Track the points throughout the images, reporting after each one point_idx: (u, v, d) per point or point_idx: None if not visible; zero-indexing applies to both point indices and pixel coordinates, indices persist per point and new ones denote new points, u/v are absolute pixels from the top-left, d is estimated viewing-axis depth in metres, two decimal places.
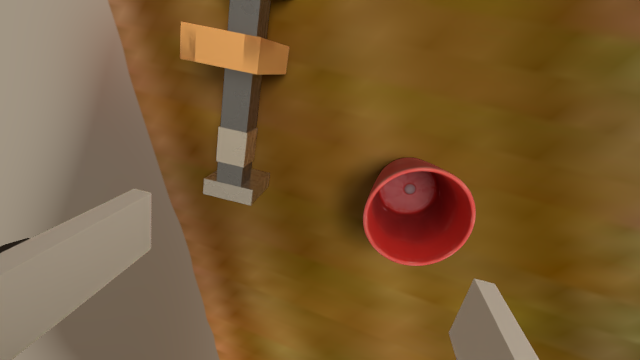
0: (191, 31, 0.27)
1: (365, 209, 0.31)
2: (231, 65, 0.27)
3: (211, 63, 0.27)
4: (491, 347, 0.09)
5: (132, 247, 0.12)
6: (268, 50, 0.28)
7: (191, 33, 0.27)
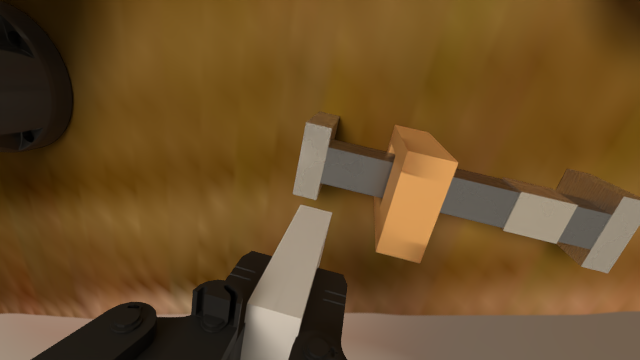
0: (389, 241, 0.20)
1: None
2: (439, 197, 0.19)
3: (432, 224, 0.20)
4: None
5: None
6: (417, 145, 0.20)
7: (391, 242, 0.20)
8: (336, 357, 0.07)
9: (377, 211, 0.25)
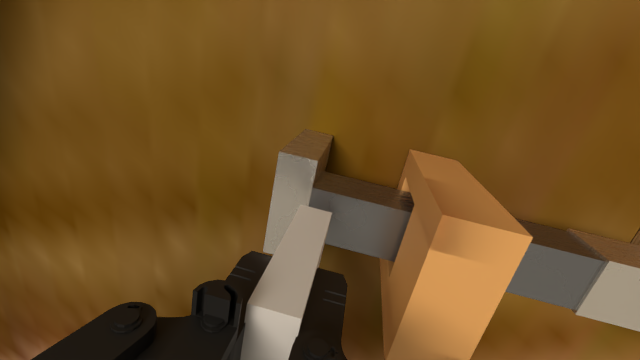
0: (406, 352, 0.13)
1: None
2: (494, 291, 0.11)
3: (480, 331, 0.12)
4: None
5: None
6: (452, 196, 0.12)
7: (409, 352, 0.13)
8: (336, 357, 0.07)
9: (385, 279, 0.17)
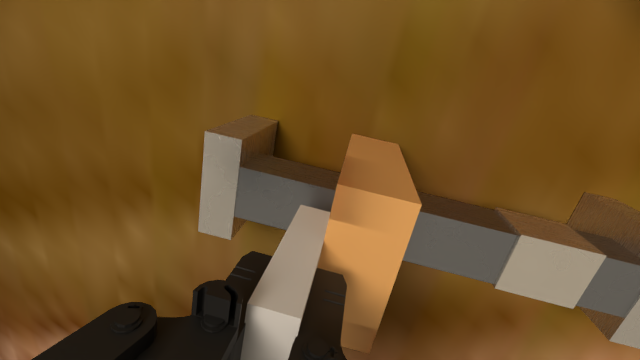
0: None
1: None
2: (393, 259, 0.12)
3: (384, 299, 0.12)
4: None
5: None
6: (363, 170, 0.13)
7: None
8: (336, 357, 0.07)
9: None
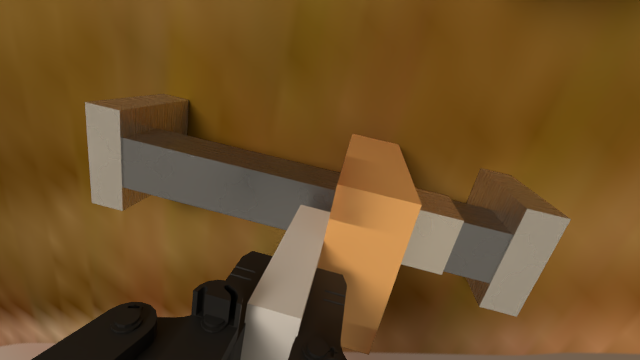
0: None
1: None
2: (393, 259, 0.11)
3: (384, 299, 0.12)
4: None
5: None
6: (363, 171, 0.13)
7: None
8: (336, 357, 0.07)
9: None
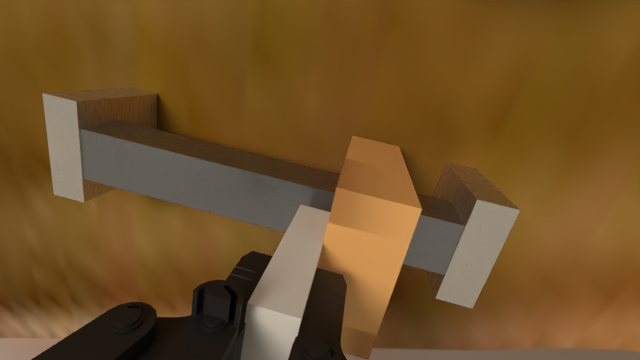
0: None
1: None
2: (392, 264, 0.11)
3: (384, 304, 0.12)
4: None
5: None
6: (363, 173, 0.13)
7: None
8: (336, 357, 0.07)
9: None
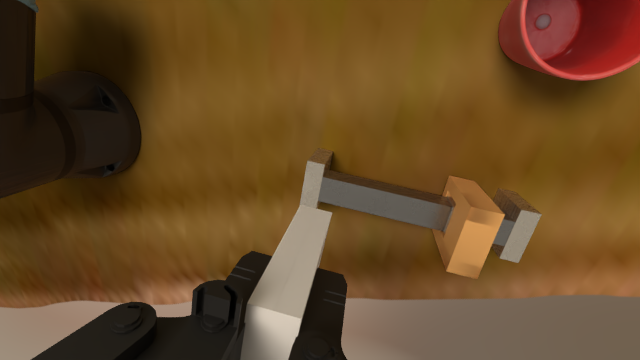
0: (455, 264, 0.30)
1: (571, 78, 0.25)
2: (491, 236, 0.29)
3: (486, 253, 0.29)
4: None
5: None
6: (474, 199, 0.30)
7: (457, 264, 0.30)
8: (336, 357, 0.07)
9: (440, 240, 0.35)
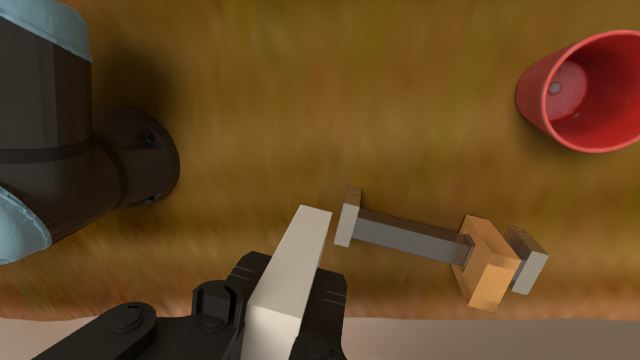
0: (476, 300, 0.35)
1: (581, 150, 0.30)
2: (509, 277, 0.33)
3: (503, 291, 0.34)
4: None
5: None
6: (493, 244, 0.35)
7: (477, 300, 0.35)
8: (336, 357, 0.07)
9: (459, 274, 0.39)
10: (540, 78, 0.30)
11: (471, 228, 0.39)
